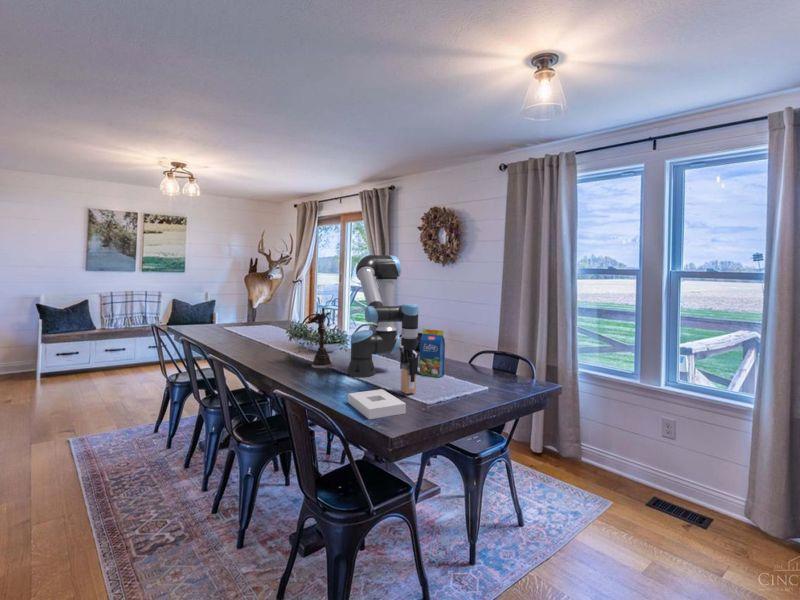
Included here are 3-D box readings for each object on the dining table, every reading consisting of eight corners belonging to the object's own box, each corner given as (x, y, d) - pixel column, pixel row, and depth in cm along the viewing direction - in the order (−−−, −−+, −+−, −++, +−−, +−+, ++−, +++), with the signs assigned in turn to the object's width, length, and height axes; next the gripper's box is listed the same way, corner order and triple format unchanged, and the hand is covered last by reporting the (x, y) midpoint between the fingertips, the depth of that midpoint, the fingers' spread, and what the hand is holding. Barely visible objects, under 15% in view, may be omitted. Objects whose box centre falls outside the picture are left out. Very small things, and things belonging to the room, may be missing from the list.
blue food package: (439, 378, 224) (440, 331, 222) (419, 374, 230) (420, 329, 228) (444, 375, 229) (445, 330, 227) (424, 372, 235) (425, 328, 233)
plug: (400, 390, 196) (401, 363, 195) (410, 389, 199) (410, 362, 198) (406, 393, 192) (406, 365, 191) (415, 392, 194) (416, 364, 193)
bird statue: (299, 365, 246) (299, 305, 243) (315, 361, 256) (315, 304, 254) (319, 369, 236) (319, 307, 234) (335, 365, 247) (336, 306, 244)
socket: (348, 402, 180) (348, 393, 180) (382, 397, 188) (382, 389, 187) (369, 419, 161) (369, 409, 160) (405, 413, 168) (405, 403, 168)
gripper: (393, 334, 199) (392, 382, 201) (412, 341, 183) (410, 393, 185) (407, 333, 203) (406, 381, 205) (426, 340, 187) (425, 391, 189)
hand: (408, 386), depth 195 cm, fingers closed on plug, 5 cm apart
